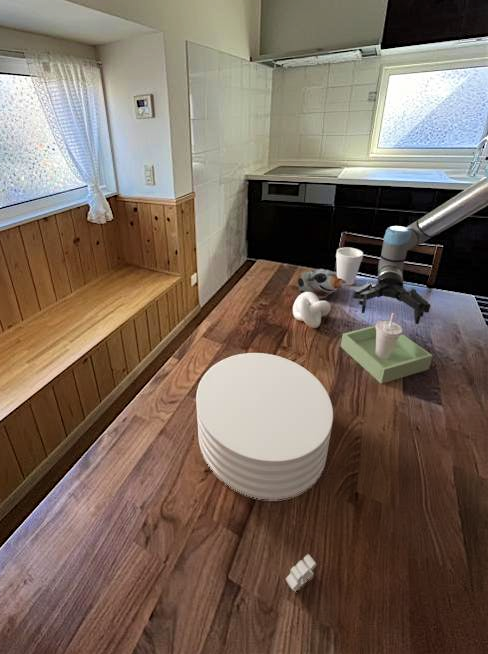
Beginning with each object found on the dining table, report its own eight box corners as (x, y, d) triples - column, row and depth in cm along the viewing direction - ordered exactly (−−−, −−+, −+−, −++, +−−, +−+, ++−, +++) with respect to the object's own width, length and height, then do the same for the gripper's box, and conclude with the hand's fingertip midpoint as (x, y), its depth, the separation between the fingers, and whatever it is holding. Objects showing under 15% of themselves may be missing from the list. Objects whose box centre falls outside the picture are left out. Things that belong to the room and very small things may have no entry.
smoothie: (400, 356, 94) (411, 315, 89) (387, 366, 91) (397, 324, 86) (378, 344, 99) (387, 304, 94) (365, 353, 96) (373, 312, 91)
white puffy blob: (322, 310, 118) (325, 288, 115) (335, 331, 108) (338, 307, 104) (290, 311, 119) (291, 289, 115) (299, 332, 108) (301, 308, 104)
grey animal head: (332, 284, 134) (349, 263, 123) (332, 309, 126) (351, 289, 116) (295, 273, 135) (309, 251, 124) (294, 297, 127) (309, 277, 116)
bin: (428, 369, 91) (433, 355, 89) (381, 383, 87) (384, 369, 85) (383, 335, 104) (386, 322, 102) (340, 346, 101) (342, 333, 99)
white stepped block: (307, 566, 54) (309, 551, 52) (314, 576, 53) (317, 561, 51) (284, 587, 52) (286, 572, 50) (291, 598, 51) (293, 583, 49)
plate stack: (191, 492, 65) (187, 453, 61) (204, 383, 91) (202, 350, 86) (342, 509, 61) (351, 469, 56) (312, 390, 86) (316, 355, 82)
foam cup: (334, 286, 133) (338, 256, 127) (331, 275, 141) (334, 247, 135) (360, 288, 130) (365, 257, 125) (355, 276, 138) (360, 248, 133)
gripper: (431, 298, 109) (439, 336, 93) (348, 284, 121) (341, 315, 104) (437, 278, 106) (446, 313, 90) (351, 265, 118) (344, 294, 101)
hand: (389, 314), depth 97 cm, fingers open, 13 cm apart
